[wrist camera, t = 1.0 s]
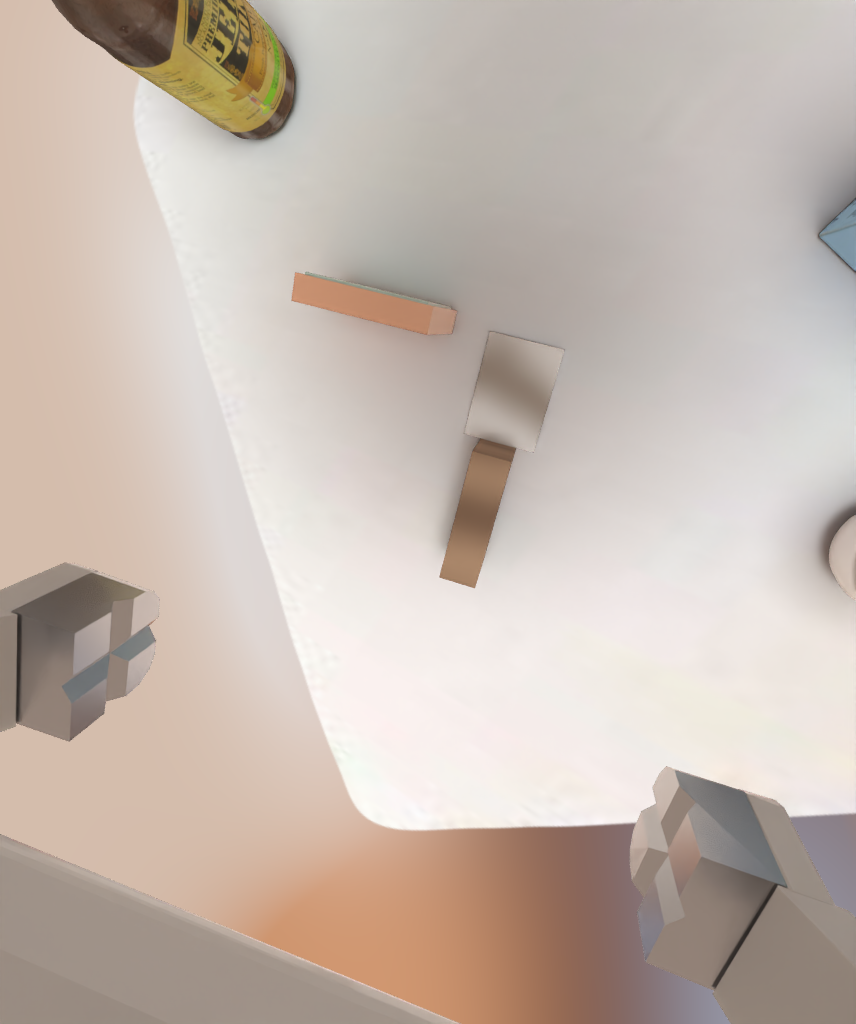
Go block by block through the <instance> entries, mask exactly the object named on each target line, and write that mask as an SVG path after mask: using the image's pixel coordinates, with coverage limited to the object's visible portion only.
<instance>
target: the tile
mask: <svg viewBox="0 0 856 1024" xmlns="http://www.w3.org/2000/svg"><path fill="white" fill-rule="evenodd" d="M291 301H295V302H299V303H303V304H307V305H311V306H315V307H319V308H323V309H327V310H331V311H335V312H339V313H342V314H346V315H350V316H354V317H358V318H362V319H366V320H370V321H374V322H378V323H382V324H386V325H390V326H394V327H398V328H402V329H406V330H410V331H414V332H418V333H422V334H426V335H436V334H452V332H453V328H454V323H455V319H456V315H457V311H456V310H452V309H451V307H450V306H446V305H442V304H438V303H433V302H429V301H425V300H421V299H417V298H413V297H409V296H405V295H401V294H397V293H393V292H388V291H384V290H380V289H376V288H372V287H368V286H364V285H360V284H356V283H352V282H347V281H343V280H339V279H334V278H330V277H326V276H321V275H317V274H313V273H308V272H305V274H301V273H296V272H295V278H294V285H293V293H292V300H291Z"/></svg>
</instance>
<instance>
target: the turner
mask: <svg viewBox="0 0 856 1024" xmlns="http://www.w3.org/2000/svg"><path fill="white" fill-rule="evenodd" d="M564 351H565V350H564V349H560V348H556V347H552V346H548V345H544V344H540V343H536V342H532V341H528V340H524V339H520V338H516V337H512V336H508V335H504V334H500V333H496V332H492V331H490V333H489V337H488V341H487V344H486V348H485V352H484V356H483V360H482V364H481V368H480V372H479V376H478V380H477V384H476V388H475V392H474V396H473V399H472V403H471V407H470V411H469V415H468V419H467V423H466V427H465V431H464V434H466V435H470V436H473V437H477V438H481V439H480V441H479V442H478V444H477V445H476V447H475V448H474V450H473V451H472V455H471V459H470V463H469V466H468V470H467V474H466V478H465V482H464V485H463V489H462V493H461V497H460V501H459V504H458V508H457V512H456V516H455V520H454V523H453V527H452V531H451V535H450V539H449V542H448V546H447V550H446V554H445V558H444V561H443V565H442V569H441V573H440V578H443V579H446V580H450V581H453V582H456V583H459V584H463V585H466V586H469V587H472V588H475V586H476V583H477V580H478V576H479V573H480V570H481V567H482V563H483V560H484V557H485V553H486V550H487V546H488V543H489V539H490V536H491V533H492V529H493V526H494V522H495V519H496V515H497V512H498V508H499V505H500V502H501V498H502V495H503V491H504V488H505V484H506V481H507V477H508V474H509V471H510V467H511V464H512V460H513V457H514V453H515V450H516V448H517V449H521V450H525V451H528V452H532V453H534V450H535V447H536V443H537V440H538V437H539V434H540V430H541V427H542V424H543V420H544V417H545V414H546V410H547V407H548V404H549V400H550V397H551V394H552V391H553V387H554V384H555V381H556V377H557V374H558V371H559V367H560V364H561V361H562V358H563V354H564Z"/></svg>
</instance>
